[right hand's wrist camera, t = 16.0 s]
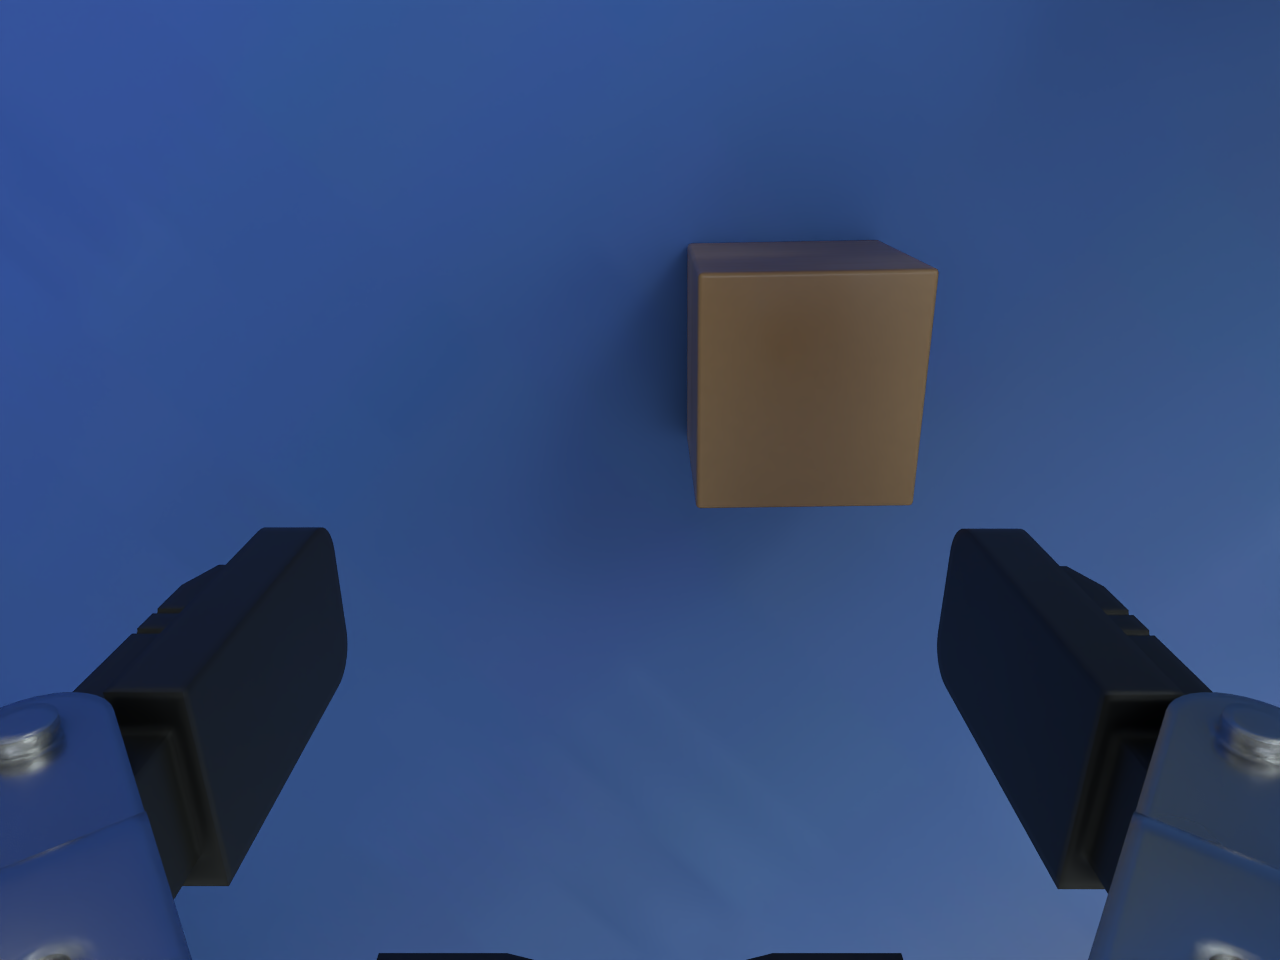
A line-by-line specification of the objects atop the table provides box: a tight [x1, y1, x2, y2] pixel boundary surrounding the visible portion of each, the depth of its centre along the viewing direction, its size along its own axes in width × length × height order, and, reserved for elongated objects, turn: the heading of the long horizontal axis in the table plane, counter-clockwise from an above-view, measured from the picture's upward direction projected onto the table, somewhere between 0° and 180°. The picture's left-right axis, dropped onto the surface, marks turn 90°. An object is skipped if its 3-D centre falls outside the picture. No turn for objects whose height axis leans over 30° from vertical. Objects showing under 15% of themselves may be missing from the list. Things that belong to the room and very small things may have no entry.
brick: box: [687, 240, 939, 508], centre depth 20 cm, size 5×5×5 cm
